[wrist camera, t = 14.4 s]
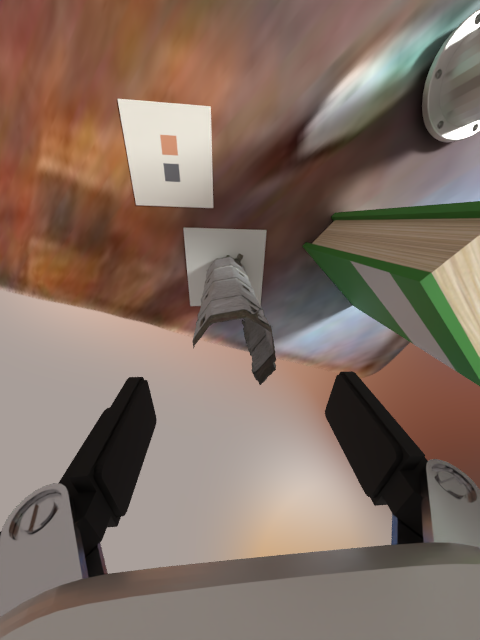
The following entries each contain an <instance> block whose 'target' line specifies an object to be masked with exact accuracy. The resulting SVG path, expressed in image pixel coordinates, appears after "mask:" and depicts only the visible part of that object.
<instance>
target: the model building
mask: <svg viewBox="0 0 480 640" xmlns="http://www.w3.org/2000/svg"><path fill="white" fill-rule="evenodd" d="M242 259H243V255H241V254H238V255H237V258H235V259H234V258H232V257H230V256H229V255H227V256H226V257H223V258H220V259H218V258H217V259H215V260H214V261H213V262H212V264H211V265H210V267H209V269H208V270H207V273H206V280H205V285H204V291H203V294H202V295H203V296H202V298H201V308H200V312H199V313H198V320H197V322H196V329H195V333H194V338H193V346H194V345H195V344H196V343H197V342H198V340H199V339H200V338H201V337H202V335H203V334H204V332H205V331H206V330H207V328H208V327H209V326H210V325H211V324H213V323H217V322H224V321H229V320H234V319H241V318H243V319H244V320H245V321H243V320H242V324H243V325H244V328H243V330H244V337H245V339H246V343H247V347H248V350H249V352H250V355H251V356H252V361H253V362H252V372H253V374H254V377H255V378H256V380H258V382H259V384H260V385H261V384H262V383H263V382H264V381H265V380H266V379H267V377H268V376H269V375H271V374H272V372H273V371H275V370H276V369H275V368H276V365H275V361H276V357H275V350H274V341H273V336H272V329H271V326H270V325H269V323H268V321H267V319H266V318H265V316H264V312H263V309H261V306H260V304H259V302H258V300H257V299H256V295H255V292H254V289H253V288H252V287H251V283H250V282H249V281H250V280H249V276H248V275H247V274H246V272H245V268H244V266H243V265H242V264H241V263H240V262H241V260H242Z"/></svg>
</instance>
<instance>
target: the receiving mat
mask: <svg viewBox="0 0 480 640" xmlns="http://www.w3.org/2000/svg"><path fill="white" fill-rule="evenodd" d="M183 229H184V240H185V252H186V263H187V275H188V286H189V297H190V306H201V298H202V296H203V295H202V294H203V291H204V285H205V280H206V273H207V270H208V269H209V267H210V265H211V264H212V262H213V261H214V260H215V259H217V258H218V259H220V258H223V257H226V256H227V255H229V256H230V257H232V258H234V259H235V258H237V255H238V254H241V255H243V259H242V260H241V262H240V263H241V264H242V265H243V266H244V268H245V272H246V274H247V275H248V276H249V280H250V281H249V282H250V283H251V287H252V288H253V289H254V292H255V295H256V299H257V300H258V302H259V304H260V305H261V293H262V280H263V268H264V256H265V243H266V231H267V230H250V229H216V228H183Z"/></svg>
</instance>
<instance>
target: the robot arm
mask: <svg viewBox="0 0 480 640" xmlns="http://www.w3.org/2000/svg"><path fill="white" fill-rule="evenodd" d="M422 113H423V119H424V123H425V126H426V128H427V130H428V132H429V133H430V134H431V135H432V136H433V137H434V138H435V139H437V140H439V141H442V142H455V141H459V140H462V139H465V138H467V137H470V136H472V135H474V134H475V133H477V132H479V131H480V9H479V10H477V11H476V12H474V13H473V14H472V15H471V16H469V17H468V18H467V19H466V20H464V21H463V22H462V23H461V24H460V25H459V26H458V27H457V28H456V29H455V30H454V31H453V32H452V33H451V34H450V36H449V37H448V38H447V39H446V41H445V42H444V43H443V45H442V47H441V48H440V50H439V52H438V53H437V55H436V57H435V59H434V61H433V63H432V65H431V67H430V70H429V73H428V76H427V79H426V82H425V87H424V91H423V100H422ZM325 415H326V418H327V420H328V422H329V424H330V426H331V428H332V430H333V432H334V434H335V436H336V438H337V440H338V442H339V444H340V446H341V448H342V449H343V451H344V453H345V455H346V457H347V459H348V461H349V463H350V465H351V467H352V469H353V471H354V473H355V475H356V477H357V479H358V481H359V483H360V485H361V487H362V488H363V490H364V492H365V494H366V495H367V496H368V497H370V498H371V500H372V502H373V503H374V505H388V506H389V508H390V510H391V511H392V541H391V545H385V546H374V547H362V548H351V549H341V550H330V551H319V552H309V553H298V554H288V555H278V556H268V557H257V558H247V559H237V560H227V561H219V562H218V561H217V562H208V563H198V564H188V565H179V566H169V567H159V568H152V569H143V570H136V571H128V572H120V573H112V574H108V573H107V569H106V565H105V560H104V556H103V552H102V548H101V544H100V542H101V541H102V538H103V536H104V533H105V531H106V528H107V527H116V526H118V523H119V520H120V517H121V516H124V515H125V514H126V512H127V509H128V507H129V504H130V500H131V498H132V495H133V492H134V489H135V485H136V483H137V480H138V476H139V474H140V470H141V467H142V465H143V462H144V458H145V455H146V453H147V449H148V447H149V443H150V440H151V437H152V435H153V432H154V429H155V425H156V415H155V411H154V406H153V402H152V398H151V394H150V390H149V386H148V382H147V380H144V378H143V377H129V378H128V379H127V381H126V382H125V384H124V386H123V387H122V389H121V390H120V392H119V394H118V396H117V397H116V399H115V401H114V402H113V404H112V405H111V407H110V408H107V409H106V410H105V411H104V412H103V414H102V415H101V416H100V418H99V420H98V421H97V423H96V424H95V426H94V428H93V429H92V431H91V432H90V434H89V435H88V437H87V439H86V440H85V442H84V443H83V445H82V447H81V448H80V450H79V451H78V453H77V455H76V456H75V458H74V460H73V461H72V463H71V464H70V466H69V467H68V469H67V471H66V472H65V474H64V475H63V477H62V479H61V480H60V482H59V483H58V484H56V483H53V484H50V485H46V486H44V487H42V488H40V489H38V490H36V491H34V492H33V493H32V494H30V495H29V496H28V497H26V498H25V499H24V500H23V501H22V502H21V503H20V504H19V505H18V506H16V508H15V509H14V510H13V512H12V513H11V514H10V515H9V517H8V519H7V520H6V522H5V524H4V526H3V528H2V531H1V532H0V640H480V490H479V489H478V487H477V486H476V484H475V483H474V482H473V481H472V480H471V479H470V478H469V477H468V476H467V475H466V474H465V473H463V472H462V471H461V470H459V469H458V468H456V467H455V466H453V465H451V464H450V463H447V462H444V461H442V460H437V459H433V460H429V461H427V460H426V458H425V457H424V456H425V455H424V453H423V452H422V451H421V450H420V449H419V447H418V446H417V445H416V444H415V443H414V441H413V440H412V439H411V438H410V437H409V436H408V434H407V433H406V432H405V431H404V430H403V429H402V428H401V426H400V425H399V424H398V423H397V422H396V420H395V419H394V418H393V417H392V416H391V415H390V413H389V412H388V411H387V410H386V409H385V407H384V406H383V405H382V404H381V403H380V402H379V400H378V399H377V398H376V397H375V396H374V395H373V394H372V392H371V391H370V390H369V389H368V388H367V387H366V385H365V384H364V383H363V382H362V380H361V379H360V378H359V377H358V376H357V375H356V373H354V372H340V374H339V375H337V377H336V379H335V382H334V385H333V389H332V392H331V394H330V398H329V401H328V404H327V407H326V410H325Z"/></svg>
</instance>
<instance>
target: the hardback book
mask: <svg viewBox="0 0 480 640" xmlns="http://www.w3.org/2000/svg"><path fill="white" fill-rule="evenodd" d="M331 218H332V219H333V221H334V222H333V223H332V224H331V225H330V226H329V227H328V228H327V229H326V230H325V231H324V232H323V233H322V234H321V235H320V236H319V237H318V238H317V239H316V240H315V241H314V242H313V243H312V244H311V243H307V242H306V243H305V244H304V245H303V246H302V247H303V248H304V249H305V250H306V251H307V252H308V254H309V255H310V256H311V257H312V258H313V259H314V261H315V262H316V263H317V264H318V265H319V266H320V268H321V269H322V270H323V271H324V272H325V273H326V275H327V276H328V277H329V278H330V279H331V280H332V282H333V283H334V284H335V285H336V286H337V287H338V289H339V290H340V291H341V292H342V293H343V294H344V296H345V297H346V298H347V299H348V300H349V302H350V303H351V304H352V305H353V306H355V307H356V308H358V309H359V310H361V311H362V312H364V313H366V314H367V315H369V316H370V317H372V318H373V319H375V320H377V321H378V322H380V323H381V324H383V325H384V326H386V327H388V328H389V329H391V330H392V331H394V332H395V333H397V334H399V335H400V336H402V337H403V338H405V339H406V340H408V341H410V342H411V343H413V344H414V345H416V346H417V347H419V348H421V349H422V350H424V351H425V352H427V353H428V354H430V355H432V356H433V357H435V358H436V359H438V360H439V361H441V362H443V363H444V364H446V365H447V366H449V367H450V368H452V369H454V370H455V371H457V372H459V373H460V374H462V375H463V376H465V377H466V378H468V379H469V380H471V381H473V382H474V383H476V384H477V385H479V386H480V201H477V202H464V203H452V204H439V205H426V206H414V207H401V208H389V209H376V210H364V211H351V212H338V213H334V214H333V216H332V217H331Z"/></svg>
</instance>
